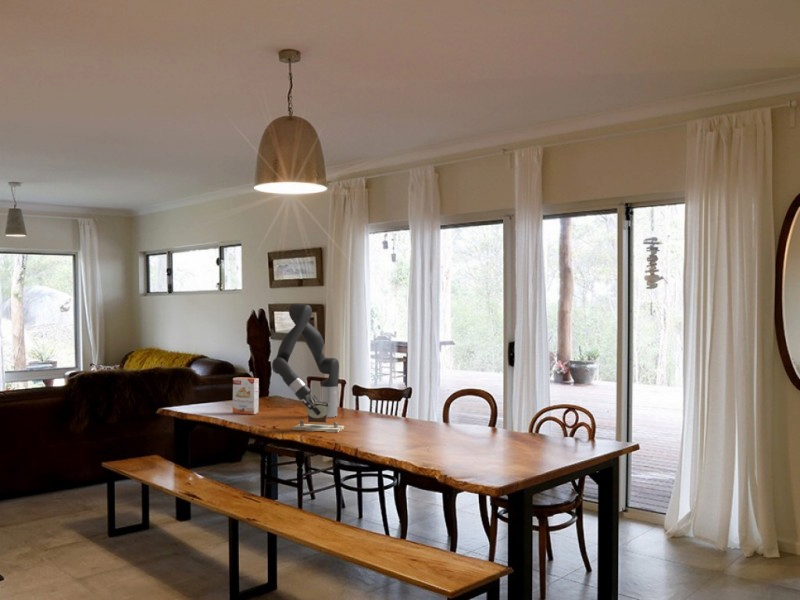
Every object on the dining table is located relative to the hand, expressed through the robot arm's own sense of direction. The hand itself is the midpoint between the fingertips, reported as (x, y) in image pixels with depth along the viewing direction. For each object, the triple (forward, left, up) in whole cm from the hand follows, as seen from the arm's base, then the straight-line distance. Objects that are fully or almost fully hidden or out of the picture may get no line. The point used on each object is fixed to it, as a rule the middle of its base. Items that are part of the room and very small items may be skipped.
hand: (321, 413), depth 346 cm
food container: (0, -2, -5) cm, 5 cm away
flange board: (0, -2, -8) cm, 9 cm away
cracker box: (-39, -60, -9) cm, 72 cm away
